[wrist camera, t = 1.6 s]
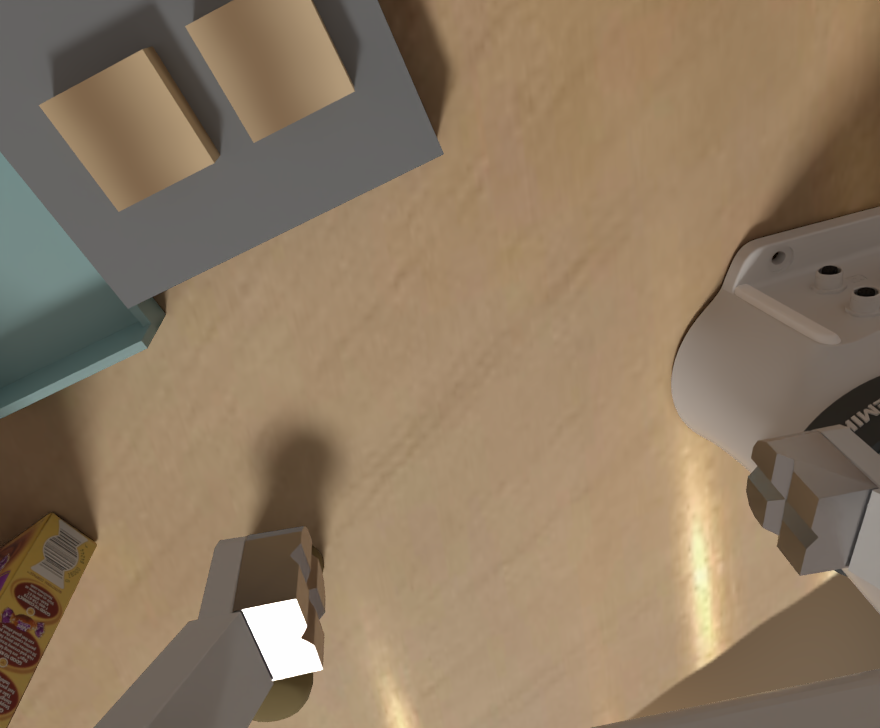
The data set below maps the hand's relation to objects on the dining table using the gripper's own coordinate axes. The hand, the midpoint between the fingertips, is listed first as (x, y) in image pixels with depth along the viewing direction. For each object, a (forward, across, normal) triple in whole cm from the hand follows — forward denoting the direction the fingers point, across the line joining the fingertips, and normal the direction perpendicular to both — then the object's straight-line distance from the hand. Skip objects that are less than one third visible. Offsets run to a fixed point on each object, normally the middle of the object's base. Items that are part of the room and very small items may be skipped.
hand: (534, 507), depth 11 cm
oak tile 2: (+23, +12, -4) cm, 27 cm away
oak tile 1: (+23, +5, -6) cm, 25 cm away
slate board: (+26, +9, -5) cm, 28 cm away
